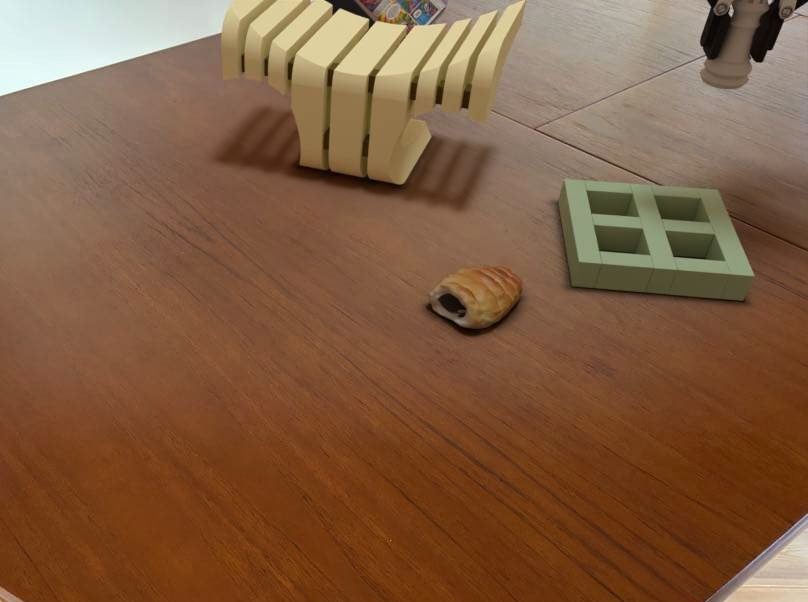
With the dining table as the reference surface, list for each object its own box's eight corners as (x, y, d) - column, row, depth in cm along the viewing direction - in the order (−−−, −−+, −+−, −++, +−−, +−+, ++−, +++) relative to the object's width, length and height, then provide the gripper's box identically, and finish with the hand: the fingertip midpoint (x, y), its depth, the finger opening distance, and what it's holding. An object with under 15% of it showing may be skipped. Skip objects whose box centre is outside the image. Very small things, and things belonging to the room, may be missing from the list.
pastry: (485, 271, 88) (492, 240, 85) (538, 303, 84) (546, 271, 82) (421, 306, 84) (426, 274, 81) (473, 341, 80) (480, 309, 77)
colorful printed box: (432, -4, 133) (384, -112, 121) (501, 41, 117) (454, -77, 105) (325, 79, 136) (268, -18, 124) (379, 133, 121) (319, 29, 109)
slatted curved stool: (226, 162, 105) (219, 11, 93) (275, 109, 116) (275, -34, 103) (468, 210, 97) (496, 51, 84) (497, 148, 107) (526, -2, 95)
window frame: (708, 213, 96) (717, 189, 94) (743, 301, 84) (755, 276, 82) (557, 202, 98) (564, 178, 96) (571, 286, 86) (578, 261, 84)
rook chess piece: (696, 86, 82) (727, -2, 77) (698, 68, 85) (728, -17, 80) (747, 93, 81) (781, 5, 75) (747, 75, 84) (780, -11, 78)
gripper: (717, -168, 67) (646, 66, 80) (947, -161, 65) (836, 77, 78) (699, -187, 72) (635, 35, 85) (910, -181, 70) (813, 45, 83)
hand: (732, 53), depth 81 cm, fingers closed on rook chess piece, 3 cm apart
